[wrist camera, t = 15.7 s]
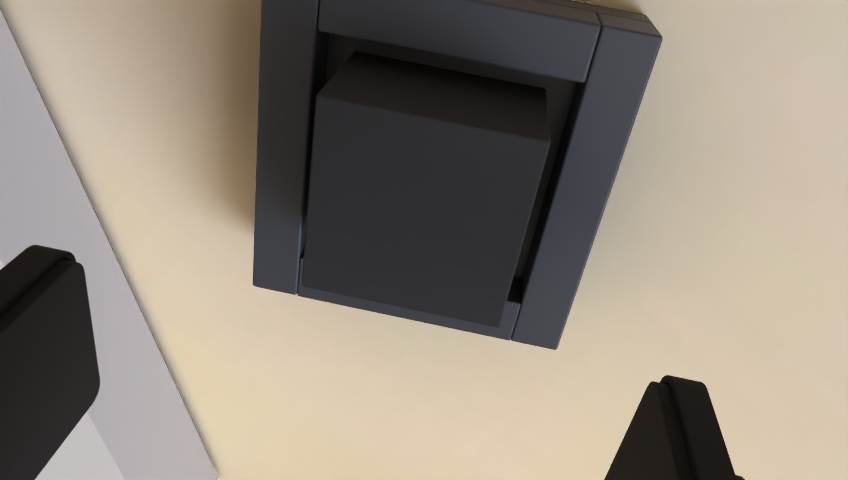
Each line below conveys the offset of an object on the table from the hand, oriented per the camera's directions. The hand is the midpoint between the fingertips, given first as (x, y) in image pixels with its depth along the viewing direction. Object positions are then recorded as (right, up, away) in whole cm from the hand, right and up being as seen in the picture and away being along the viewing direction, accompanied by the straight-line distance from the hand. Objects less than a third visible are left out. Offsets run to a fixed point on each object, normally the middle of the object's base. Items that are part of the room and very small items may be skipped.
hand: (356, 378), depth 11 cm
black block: (+1, +5, +9) cm, 10 cm away
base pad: (+2, +5, +10) cm, 11 cm away
